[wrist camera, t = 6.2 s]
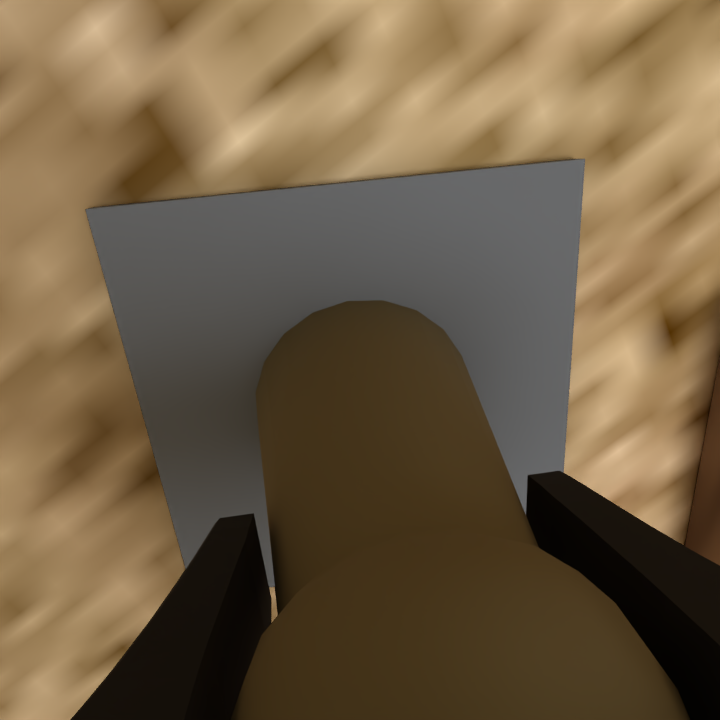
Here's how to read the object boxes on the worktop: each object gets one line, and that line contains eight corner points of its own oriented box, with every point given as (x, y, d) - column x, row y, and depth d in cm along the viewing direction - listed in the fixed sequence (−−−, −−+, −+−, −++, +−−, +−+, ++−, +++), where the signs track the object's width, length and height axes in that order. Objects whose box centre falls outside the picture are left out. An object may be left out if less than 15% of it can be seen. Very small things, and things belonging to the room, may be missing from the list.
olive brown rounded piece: (363, 527, 16) (466, 1162, 6) (208, 410, 14) (-31, 1063, 4) (511, 397, 15) (953, 912, 5) (365, 250, 13) (593, 595, 3)
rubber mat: (551, 534, 18) (558, 544, 17) (197, 586, 17) (193, 598, 16) (574, 158, 13) (584, 159, 13) (93, 207, 12) (85, 209, 12)
